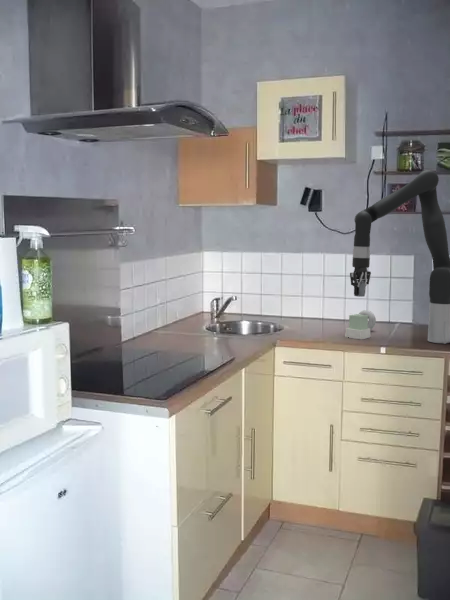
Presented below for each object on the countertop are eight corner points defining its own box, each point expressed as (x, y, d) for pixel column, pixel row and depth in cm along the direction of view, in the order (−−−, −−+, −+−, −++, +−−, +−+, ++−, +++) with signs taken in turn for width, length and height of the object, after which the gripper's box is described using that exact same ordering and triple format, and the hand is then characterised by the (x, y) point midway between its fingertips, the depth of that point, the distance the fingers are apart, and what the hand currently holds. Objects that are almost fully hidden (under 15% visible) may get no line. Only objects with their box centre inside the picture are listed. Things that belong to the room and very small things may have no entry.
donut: (376, 331, 311) (377, 310, 309) (372, 332, 308) (373, 311, 307) (358, 328, 318) (359, 308, 316) (354, 329, 315) (355, 309, 314)
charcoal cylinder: (366, 296, 293) (367, 282, 292) (360, 296, 290) (361, 283, 289) (357, 295, 296) (358, 281, 295) (352, 295, 293) (352, 282, 292)
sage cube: (367, 328, 295) (368, 315, 294) (360, 330, 291) (360, 316, 290) (356, 326, 299) (356, 313, 298) (348, 328, 295) (349, 315, 294)
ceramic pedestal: (370, 337, 295) (370, 328, 295) (360, 339, 290) (360, 330, 289) (355, 334, 301) (355, 326, 300) (345, 337, 295) (345, 328, 295)
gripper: (359, 257, 283) (358, 296, 285) (377, 256, 293) (375, 294, 295) (345, 256, 288) (343, 295, 290) (362, 255, 298) (361, 292, 300)
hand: (359, 294), depth 293 cm, fingers closed on charcoal cylinder, 4 cm apart
